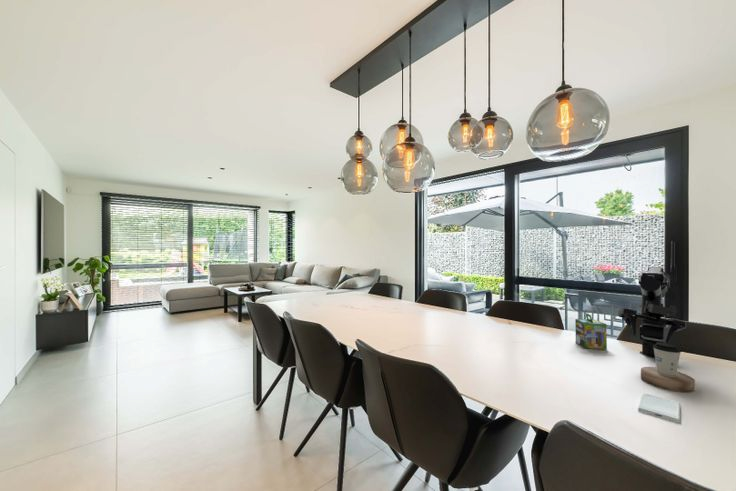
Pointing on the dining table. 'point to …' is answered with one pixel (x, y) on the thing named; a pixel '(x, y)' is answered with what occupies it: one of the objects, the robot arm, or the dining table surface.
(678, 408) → the hard drive
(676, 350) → the coffee cup
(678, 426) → the dining table surface
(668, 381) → the podium
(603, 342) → the chalk box
